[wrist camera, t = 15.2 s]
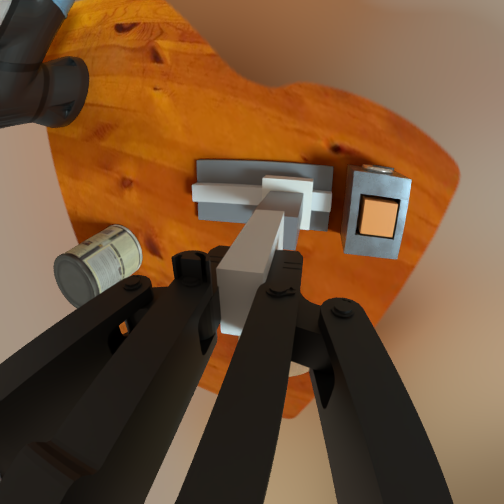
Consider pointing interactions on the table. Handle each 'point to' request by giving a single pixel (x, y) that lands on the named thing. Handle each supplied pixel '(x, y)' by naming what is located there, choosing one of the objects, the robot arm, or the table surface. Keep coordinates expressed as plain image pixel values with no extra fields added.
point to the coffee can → (97, 264)
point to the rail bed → (256, 178)
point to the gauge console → (377, 184)
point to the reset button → (376, 215)
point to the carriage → (288, 204)
